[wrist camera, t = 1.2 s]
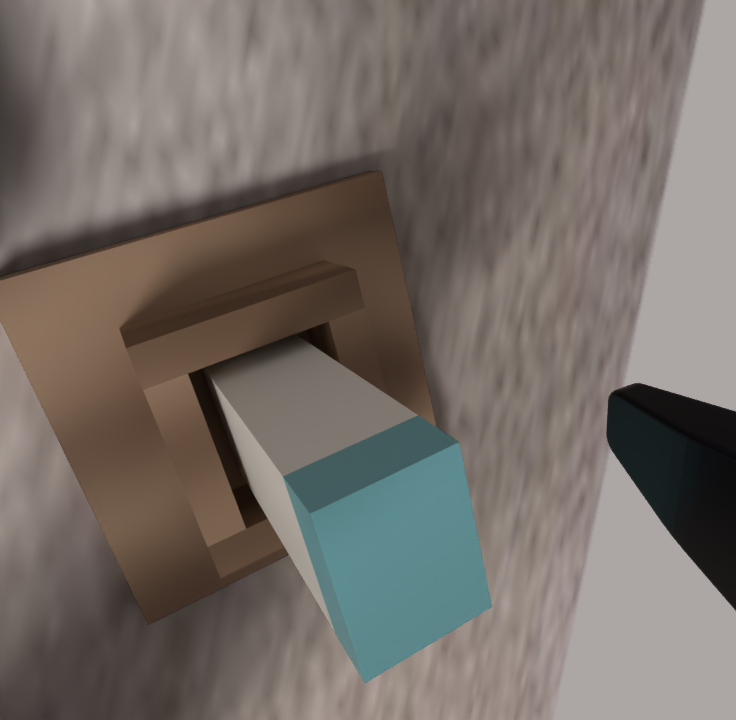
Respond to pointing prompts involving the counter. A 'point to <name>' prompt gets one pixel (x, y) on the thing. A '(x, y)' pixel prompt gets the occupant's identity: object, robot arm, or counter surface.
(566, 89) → the counter surface
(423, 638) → the plug
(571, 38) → the counter surface
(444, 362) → the counter surface
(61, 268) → the holster
